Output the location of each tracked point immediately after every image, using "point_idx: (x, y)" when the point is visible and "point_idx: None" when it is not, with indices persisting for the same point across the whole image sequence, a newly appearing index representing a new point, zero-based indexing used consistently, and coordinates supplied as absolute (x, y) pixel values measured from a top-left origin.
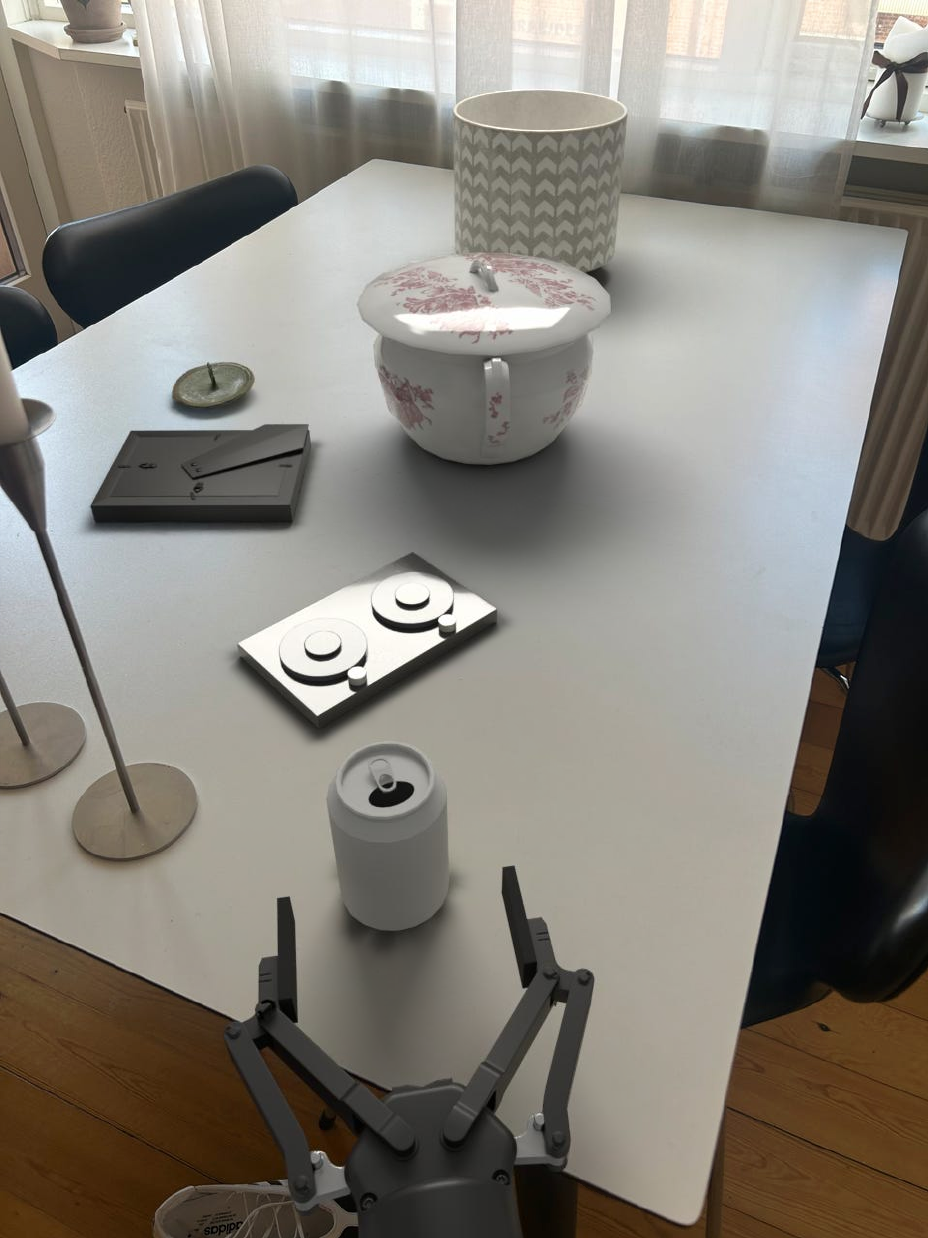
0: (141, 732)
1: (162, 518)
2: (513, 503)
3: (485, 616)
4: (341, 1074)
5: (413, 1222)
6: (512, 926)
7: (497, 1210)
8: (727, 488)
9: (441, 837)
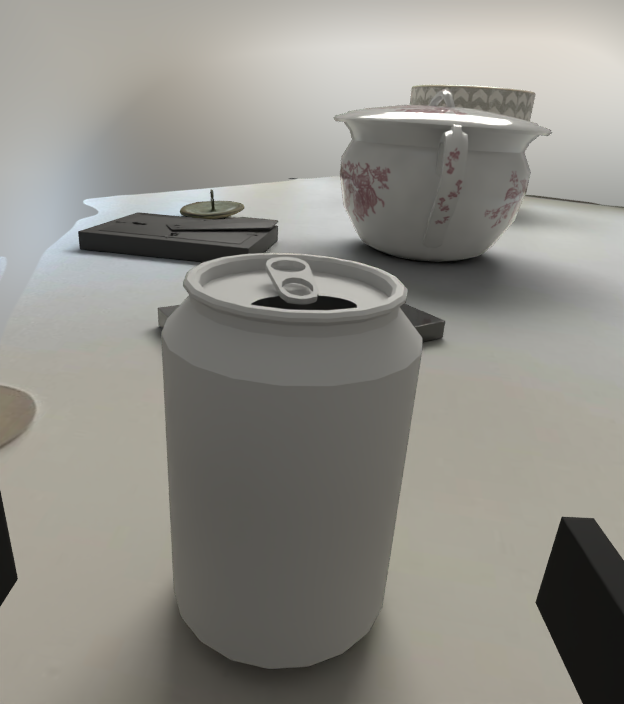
0: (11, 360)
1: (136, 251)
2: (451, 280)
3: (432, 324)
4: None
5: None
6: (621, 692)
7: None
8: None
9: (399, 443)
